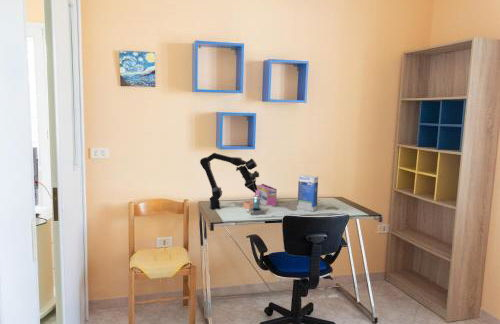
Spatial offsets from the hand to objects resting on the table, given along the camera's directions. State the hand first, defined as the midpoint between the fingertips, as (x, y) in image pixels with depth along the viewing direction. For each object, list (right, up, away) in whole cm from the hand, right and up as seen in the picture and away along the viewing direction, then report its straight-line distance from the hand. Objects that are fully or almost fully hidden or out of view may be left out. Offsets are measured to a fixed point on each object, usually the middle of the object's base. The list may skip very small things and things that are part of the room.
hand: (256, 191), depth 289 cm
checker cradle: (0, -16, -7) cm, 18 cm away
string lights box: (+39, -15, +11) cm, 43 cm away
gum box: (+8, -12, +28) cm, 31 cm away
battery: (0, -15, -7) cm, 17 cm away
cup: (-5, -14, +8) cm, 17 cm away
